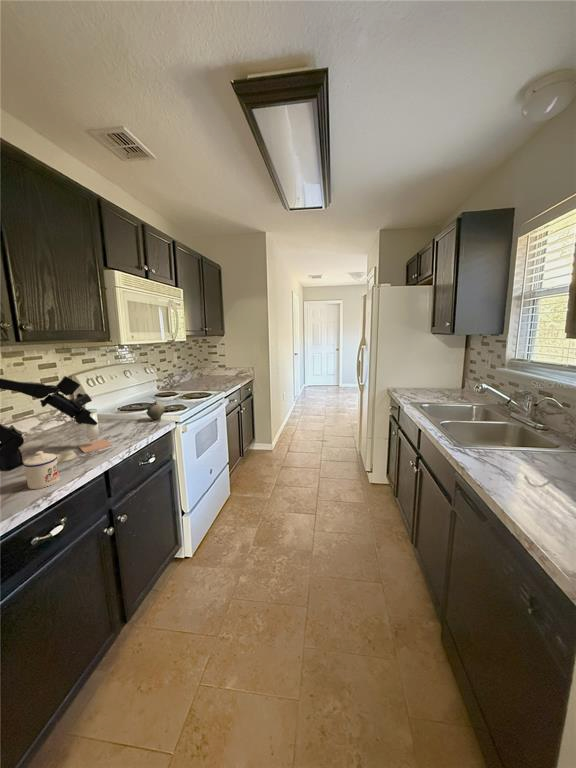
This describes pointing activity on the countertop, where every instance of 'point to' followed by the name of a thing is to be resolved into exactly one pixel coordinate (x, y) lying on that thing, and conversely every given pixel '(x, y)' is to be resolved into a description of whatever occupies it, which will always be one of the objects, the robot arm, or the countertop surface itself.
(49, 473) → the teacup with lid
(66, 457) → the mat
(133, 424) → the countertop surface
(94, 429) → the spice jar
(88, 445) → the mat
